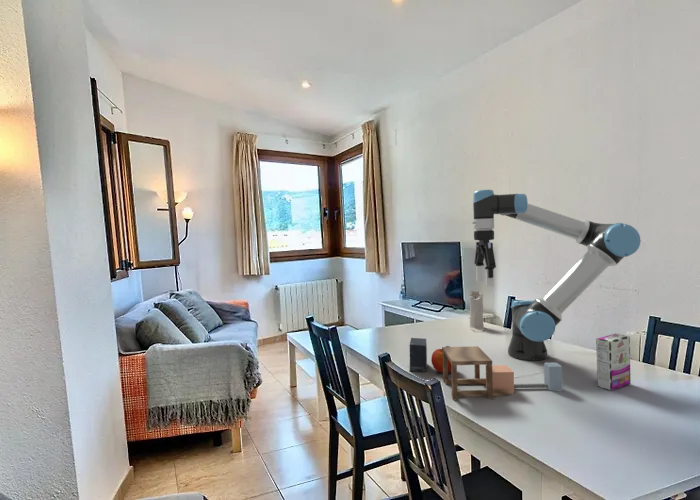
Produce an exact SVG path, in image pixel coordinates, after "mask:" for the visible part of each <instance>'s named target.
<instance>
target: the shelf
mask: <svg viewBox="0 0 700 500" xmlns="http://www.w3.org/2000/svg"><path fill="white" fill-rule="evenodd" d="M442 347H443V373H442V375H443V378H442V379H443V380H442V381H443V383H445V385H451V394H450V395H451V398H452V400H458V397H486V398H487V399H488V400H494V397H506V396H507V397H508V396H510V393H509V390H493V380H492V365H493V360H492V359H491V357H489V356H488V355H487V354H486V353H485V351H483V350H482V349H481V347H479V346H478V345H477V346H450V347H446V346H442ZM448 359H449V361H450V362H451V371H452V372H451V378H449V373H448ZM482 365H483V366H484V365H485V370H486V369H487V386H486V389H483V390H482V389H480V390H479V389H475V390H471V389H470V390H466V389H465V390H458V385H486V377H485V378H483V377H481V375H480V374H481V373H480V372H481V371H480V368H481V367H480V366H482ZM458 366H474V378H458Z"/></svg>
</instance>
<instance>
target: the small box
mask: <svg viewBox="0 0 700 500" xmlns="http://www.w3.org/2000/svg"><path fill="white" fill-rule="evenodd" d="M427 344H428V343H427V338H421V337H420V338H417V337H411V338H410V342H409V372H418V373H419V372H421V373H426V371H427V363H428V346H427Z"/></svg>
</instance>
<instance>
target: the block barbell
mask: <svg viewBox="0 0 700 500" xmlns="http://www.w3.org/2000/svg"><path fill="white" fill-rule="evenodd" d="M543 364H544V365H543V367H544V368H543V371H544V372H543V375H544V379H543V381H544V383H515V372H514V371H513V370H512V369H511V368H510V366H508V365H507V364H496V365H495V364H492V380H493V390H509V394H514V393H515V389H544V388H546V389H547V390H548V389H549V390H551V391H550V392H553V391H552V390H562V391H563V366H562V365H561V364H559V363H558V362H544V363H543ZM485 378H486V384H485V387H487V369H486V368H485ZM549 390H548V391H549Z"/></svg>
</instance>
